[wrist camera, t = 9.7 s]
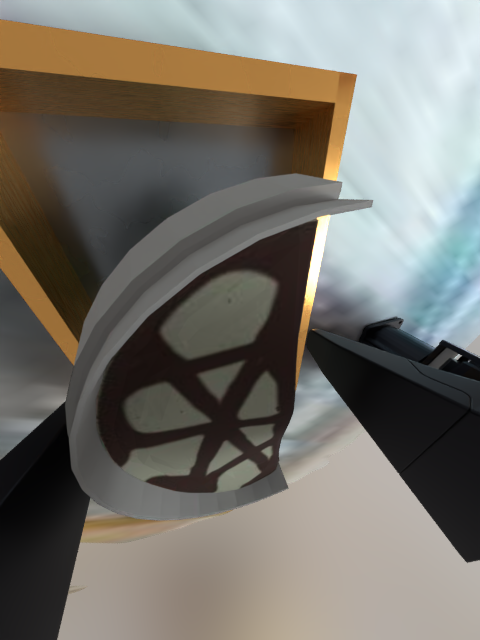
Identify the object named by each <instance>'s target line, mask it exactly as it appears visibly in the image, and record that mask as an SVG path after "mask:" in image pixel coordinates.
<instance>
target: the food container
mask: <svg viewBox="0 0 480 640" xmlns="http://www.w3.org/2000/svg"><path fill="white" fill-rule="evenodd" d="M341 187H342V182H339V181H333V180H328V179H323V178H318V177H313V176H307V175H302V174H297V173H295V174H287V175H279V176H272V177H264V178H257V179H253V180H250V181H247V182H244V183H241V184H238V185H235V186H232V187H229V188H226V189H223V190H220V191H217V192H214V193H211V194H209V195H207V196H205V197H204V198H202V199H200V200H198V201H197V202H195V203H193V204H191V205H190V206H188V207H186V208H184V209H183V210H181V211H179V212H177V213H175V214H174V215H172V216H170V217H168V218H167V219H166V220H164V221H163V222H162V223H161V224H160V225H158V226H157V227H156V228H155V229H154V230H153V231H151V232H150V233H149V234H148V235H147V236H146V237H144V238H143V239H142V240H141V241H140V242H139V243H137V244H136V245H135V246H134V247H133V248H131V249H130V250H129V252H128V253H127V254H126V255H125V257H124V258H123V259H122V260H121V262H120V263H119V264H118V265H117V267H116V268H115V269H114V271H113V272H112V273H111V274H110V276H109V277H108V278H107V279H106V281H105V282H104V283H103V285H102V286H101V288H100V290H99V292H98V294H97V296H96V298H95V300H94V302H93V304H92V306H91V308H90V310H89V312H88V315H87V317H86V319H85V321H84V324H83V328H82V333H81V337H80V341H79V345H78V350H77V354H76V358H75V362H74V367H73V371H72V375H71V380H70V384H69V389H68V393H67V397H66V402H65V410H66V422H67V434H68V437H69V446H70V458H71V469H72V471H73V473H74V475H75V477H76V479H77V481H78V483H79V485H80V486H81V488H82V490H83V491H84V492H85V493H86V494H87V495H88V496H90V497H91V498H92V499H93V500H94V501H95V502H96V503H97V504H99V505H101V506H103V507H105V508H107V509H109V510H111V511H113V512H115V513H117V514H121V515H125V516H129V517H133V518H137V519H148V520H181V519H189V518H197V517H203V516H208V515H213V514H218V513H222V512H225V511H229V510H233V509H237V508H240V507H243V506H245V505H249V504H252V503H255V502H257V501H260V500H262V499H264V498H267V497H270V496H272V495H274V494H277V493H279V492H281V491H284V490H286V489H288V485H287V483H286V480H285V478H284V475H283V473H282V470H281V468H280V465H279V463H278V461H279V448H280V443H281V439H282V437H283V435H284V432H285V430H286V428H287V426H288V424H289V422H290V419H291V417H292V414H293V410H294V401H295V388H296V362H297V349H298V337H299V331H300V325H301V319H302V313H303V307H304V301H305V295H306V288H307V282H308V277H309V271H310V266H311V260H312V254H313V249H314V243H315V238H316V232H317V227H318V221H319V220H318V219H316V218H319V217H323V216H328V215H333V214H338V213H344V212H349V211H354V210H359V209H364V208H370V207H372V203H373V200H348V199H338V198H339V195H340V192H341Z"/></svg>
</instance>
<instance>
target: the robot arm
mask: <svg viewBox="0 0 480 640" xmlns="http://www.w3.org/2000/svg"><path fill="white" fill-rule="evenodd" d="M402 323H403V319H401V318H397V319H393V320H389V321H386V322H382V323H378V324H374V325H370V326H367V327H366V328H365V329H364V332H363V334H362V337H361V339H360V342H356V341H353V340H350V339H347V338H344V337H342V336H339V335H336V334H333V333H330V332H327V331H324V330H321V329H313V330H310V331H309V333H308V338H307V348H308V350H309V351H310V353H311V355H312V356H313V358H314V360H315V361H316V363H317V364H318V366H319V368H320V369H321V371H322V372H323V374H324V375H325V377H326V378H327V379H328V381H329V382H330V383H331V385H332V386H333V387H334V389H335V390H336V391H337V393H338V394H339V395H340V397H341V398H342V399H343V401H344V402H345V403H346V405H347V406H348V407H349V409H350V410H351V411H352V413H353V414H354V415H355V416H356V418H357V419H358V420H359V422H360V423H361V424H362V426H363V427H364V428H365V430H366V431H367V432H368V433H369V435H370V436H371V438H372V439H373V440H374V441H375V443H376V444H377V446H378V447H379V448H380V449H381V451H382V452H383V454H384V455H385V456H386V457H387V459H388V460H389V461H390V463H391V464H392V465H393V466H394V468H395V469H396V470H397V472H398V473H399V475H400V476H401V477H402V479H403V480H404V481H405V483H406V484H407V485H408V487H409V488H410V489H411V491H412V492H413V493H414V495H415V496H416V497H417V499H418V500H419V501H420V503H421V504H422V505H423V507H424V508H425V509H426V511H427V512H428V513H429V514H430V516H431V517H432V519H433V520H434V521H435V522H436V524H437V525H438V526H439V528H440V529H441V530H442V532H443V533H444V534H445V536H446V537H447V538H448V540H449V541H450V542H451V544H452V545H453V546H454V547H455V549H456V550H457V551H458V553H459V554H460V555H461V556H462V557H463V559H464V560H465V561H466V562H467V563H468V562H473V561H478V560H480V356H478V355H475V354H473V353H471V352H469V351H467V350H465V349H463V348H461V347H459V346H457V345H454V344H452V343H449V342H447V341H445V340H442V341H441V342H440V343H439V345H438V346H437V347H436V348H434V347H433V346H431V345H429V344H427V343H425V342H423V341H421V340H419V339H417V338H415V337H414V336H412V335H410V334H408V333H406V332H404V331H402V330H400V329H399V328H400V326H401V325H402ZM458 354H460V355H462V356H461V357H460V358H459V359H458V360H456V359H453V358H455V357H456V356H457V355H458ZM65 402H66V401H65ZM65 402H64V403H63V404H62V405H61V406H60V407H59V408H58V409H56V410H55V411H54V412H53V413H52V414H51V415H50V416H49V417H48V418H46V419H45V420H44V421H43V422H42V423H41V424H40V425H39V426H38V427H37V428H35V429H34V430H33V431H32V432H31V433H30V434H29V435H28V436H27V437H26V438H24V439H23V440H22V441H21V442H20V443H19V444H18V445H17V446H16V447H14V448H13V449H12V450H11V451H10V452H9V453H8V454H7V455H6V456H5V457H3V458H2V459H1V460H0V640H57V638H58V633H59V629H60V625H61V621H62V616H63V612H64V608H65V603H66V599H67V595H68V591H69V587H70V582H71V578H72V573H73V570H74V565H75V561H76V557H77V553H78V548H79V544H80V540H81V536H82V531H83V527H84V523H85V518H86V514H87V510H88V506H89V501H90V496H88V495H87V494H86V493H85V492H84V491H83V490H82V488H81V486H80V485H79V483H78V481H77V479H76V477H75V475H74V473H73V471H72V469H71V458H70V446H69V437H68V434H67V422H66V410H65Z"/></svg>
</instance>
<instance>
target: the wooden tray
mask: <svg viewBox="0 0 480 640" xmlns="http://www.w3.org/2000/svg"><path fill="white" fill-rule="evenodd" d="M356 77H357V75H356V74H350V73H343V72H337V71H330V70H324V69H318V68H311V67H305V66H298V65H292V64H285V63H279V62H272V61H266V60H259V59H253V58H246V57H240V56H233V55H227V54H221V53H214V52H208V51H201V50H195V49H188V48H182V47H175V46H169V45H162V44H156V43H149V42H143V41H136V40H130V39H123V38H117V37H111V36H104V35H98V34H91V33H85V32H78V31H72V30H65V29H59V28H52V27H46V26H39V25H33V24H26V23H20V22H13V21H7V20H1V19H0V268H1V269H2V271H3V272H4V273H5V275H6V276H7V277H8V279H9V280H10V281H11V283H12V284H13V285H14V287H15V288H16V289H17V291H18V292H19V293H20V295H21V296H22V297H23V299H24V300H25V301H26V303H27V304H28V305H29V307H30V308H31V309H32V311H33V312H34V313H35V315H36V316H37V317H38V319H39V320H40V321H41V323H42V324H43V325H44V327H45V328H46V329H47V331H48V332H49V333H50V335H51V336H52V337H53V339H54V340H55V341H56V343H57V344H58V345H59V347H60V348H61V349H62V351H63V352H64V353H65V355H66V356H67V357H68V359H69V360H70V361H71V363H72V364H73V365H74V362H75V358H76V354H77V350H78V345H79V341H80V337H81V333H82V328H83V324H84V321H85V319H86V317H87V315H88V312H89V310H90V308H91V306H92V304H93V302H94V300H95V298H96V296H97V294H98V292H99V290H100V288H101V286H102V285H103V283H104V282H105V281H106V279H107V278H108V277H109V276H110V274H111V273H112V272H113V271H114V269H115V268H116V267H117V265H118V264H119V263H120V262H121V260H122V259H123V258H124V257H125V255H126V254H127V253H128V252H129V250H130V249H131V248H133V247H134V246H135V245H136V244H137V243H139V242H140V241H141V240H142V239H143V238H144V237H146V236H147V235H148V234H149V233H150V232H151V231H153V230H154V229H155V228H156V227H157V226H158V225H160V224H161V223H162V222H163V221H164V220H166V219H167V218H168V217H170V216H172V215H174V214H175V213H177V212H179V211H181V210H183V209H184V208H186V207H188V206H190V205H191V204H193V203H195V202H197V201H198V200H200V199H202V198H204V197H205V196H207V195H209V194H211V193H214V192H217V191H220V190H223V189H226V188H229V187H232V186H235V185H238V184H241V183H244V182H247V181H250V180H253V179H257V178H264V177H272V176H279V175H287V174H295V173H297V174H302V175H307V176H313V177H318V178H323V179H328V180H333V181H336V180H337V175H338V170H339V165H340V160H341V154H342V149H343V144H344V139H345V134H346V129H347V123H348V118H349V113H350V108H351V103H352V97H353V92H354V87H355V82H356ZM329 217H330V215H328V216H323V217H319V218H316V219H318V220H319V221H318V227H317V232H316V238H315V243H314V249H313V254H312V260H311V266H310V271H309V277H308V282H307V288H306V295H305V301H304V307H303V313H302V319H301V325H300V331H299V337H298V349H297V362H296V387H297V382H298V377H299V372H300V367H301V362H302V356H303V351H304V346H305V341H306V336H307V331H308V325H309V320H310V315H311V310H312V305H313V299H314V294H315V289H316V284H317V279H318V274H319V268H320V263H321V258H322V253H323V248H324V242H325V237H326V232H327V227H328V222H329ZM295 390H296V388H295Z"/></svg>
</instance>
